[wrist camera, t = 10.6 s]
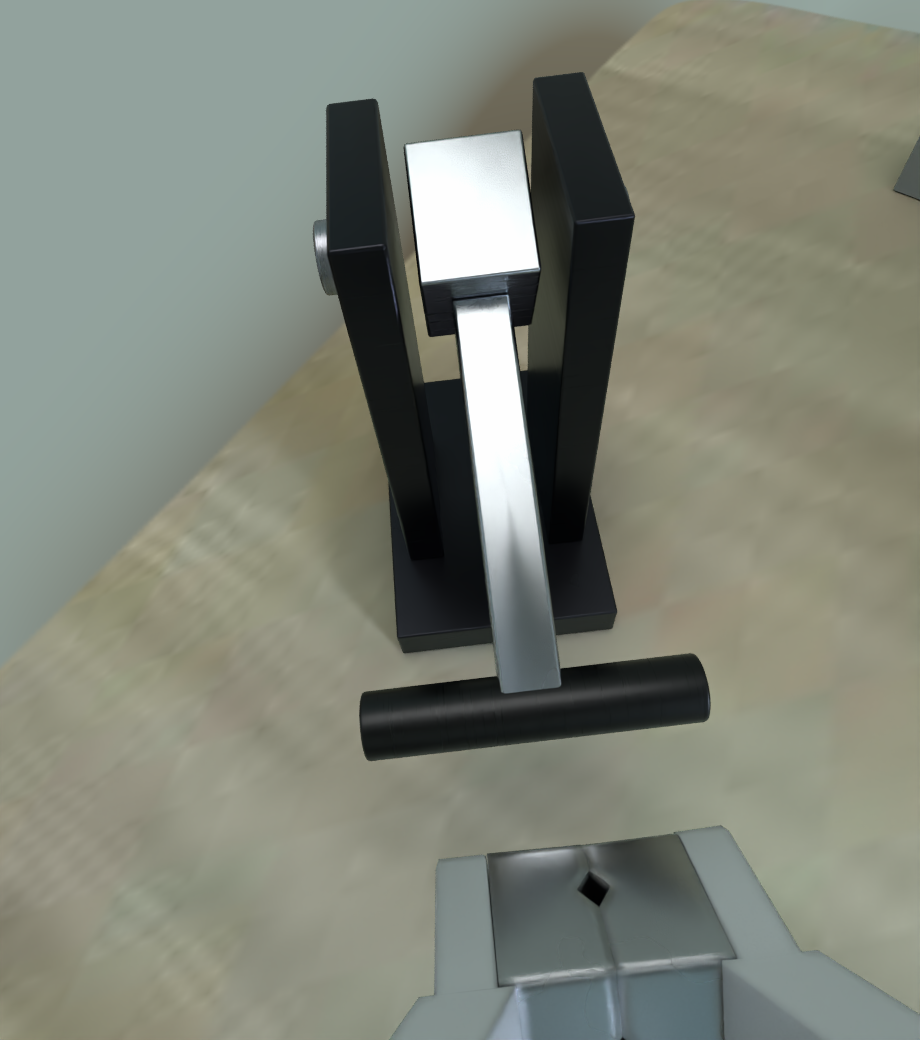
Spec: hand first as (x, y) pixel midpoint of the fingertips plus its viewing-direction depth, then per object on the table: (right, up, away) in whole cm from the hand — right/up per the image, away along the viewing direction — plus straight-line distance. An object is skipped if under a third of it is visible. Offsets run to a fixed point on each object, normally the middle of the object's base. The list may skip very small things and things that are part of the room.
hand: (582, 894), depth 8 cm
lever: (-1, +5, +7) cm, 9 cm away
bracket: (0, +4, +15) cm, 16 cm away
